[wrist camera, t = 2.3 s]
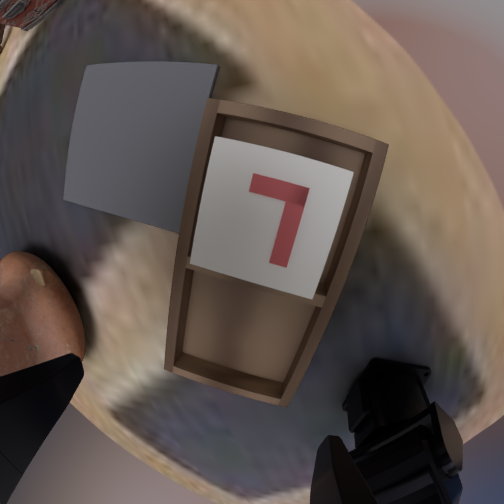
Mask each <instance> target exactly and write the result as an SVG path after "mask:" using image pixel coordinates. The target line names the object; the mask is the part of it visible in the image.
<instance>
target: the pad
mask: <svg viewBox="0 0 504 504" xmlns="http://www.w3.org/2000/svg"><path fill="white" fill-rule="evenodd" d="M218 69H219V66H218V65H214V64H203V63H188V62H120V63H106V64H95V65H87V67H86V70H85V73H84V77H83V81H82V84H81V88H80V92H79V97H78V101H77V105H76V110H75V115H74V120H73V125H72V131H71V137H70V143H69V150H68V158H67V166H66V176H65V188H64V200H66V201H70V202H73V203H76V204H80V205H83V206H87V207H90V208H94V209H97V210H100V211H104V212H107V213H111V214H114V215H118V216H121V217H125V218H128V219H131V220H135V221H138V222H142V223H145V224H149V225H152V226H156V227H159V228H162V229H166V230H169V231H173V232H176V233H179V232H180V225H181V219H182V214H183V208H184V202H185V197H186V191H187V186H188V181H189V176H190V171H191V166H192V161H193V157H194V152H195V147H196V143H197V139H198V134H199V130H200V126H201V122H202V117H203V113H204V109H205V105H206V102H207V98H211V95H212V91H213V87H214V84H215V80H216V76H217V73H218Z"/></svg>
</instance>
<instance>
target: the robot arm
mask: <svg viewBox="0 0 504 504" xmlns="http://www.w3.org/2000/svg"><path fill="white" fill-rule="evenodd" d="M374 364H377V365H374ZM426 372H427V373H426ZM430 375H431V370H430V368H428V367H422V366H416V365H410V364H404V363H399V362H393V361H388V360H383V359H378V358H375V359H373V360H371V361H370V363H369V364H368V366H367V368H366V369H365V371H364V373H363V374H362V376H361V378H359V379H358V380H357V381H356V383H355V384H354V386H353V388H352V389H351V391H350V392H349V394H348V395H347V397H346V401H345V402H344V404H343V405H342V407H343V411H346V412H347V413H348V424H349V431H350V432H351V433H354V438H355V449H354V450H352V451H350V452H348V450H347V448H346V447H345V445H344V443H343V441H342V439H341V438H340V437H339V436H333V435H328V436H327V437H326V438H325V439H324V441H323V442H322V443H321V445H320V446H319V448H318V450H317V456H316V462H315V468H314V473H313V479H312V484H311V492H310V504H459V501H460V497H461V494H462V489H463V487H462V483H461V480H460V477H459V474H458V473H459V472H460V471H461V470H462V464H463V441H462V438H461V436H460V434H459V431H458V429H457V427H456V425H455V423H454V421H453V420H452V419H451V418H450V417H449V416H448V415H447V413H446V412H445V411H444V410H443V409H442V408H441V407H440V406H439V405H438V404H437V403H436V402H435V401H434V402H433V403H432V404H430V402H429V400H428V397H427V395H426V392H425V390H424V387H423V385H424V383H425V382H426V380H427V379H428V378H429V376H430ZM83 376H84V369H83V365H82V361H81V358H80V357H79V356H77V355H75V354H73V353H68V354H66V355H63V356H60V357H57V358H54V359H51V360H48V361H45V362H42V363H40V364H37V365H34V366H31V367H28V368H25V369H22V370H19V371H15V372H12V373H9V374H6V375H3V376H0V504H7V502H8V500H9V498H10V497H11V494H12V493H13V491H14V489H15V488H16V486H17V484H18V482H19V481H20V479H21V477H22V476H23V474H24V472H25V470H26V469H27V467H28V466H29V464H30V462H31V461H32V459H33V457H34V456H35V454H36V453H37V451H38V450H39V448H40V446H41V445H42V443H43V442H44V440H45V439H46V437H47V436H48V434H49V433H50V431H51V430H52V428H53V427H54V425H55V424H56V422H57V421H58V419H59V418H60V416H61V415H62V413H63V412H64V410H65V409H66V407H67V406H68V404H69V402H70V401H71V399H72V397H73V395H74V393H75V391H76V389H77V387H78V386H79V384H80V382H81V380H82V378H83Z"/></svg>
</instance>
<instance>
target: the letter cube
mask: <svg viewBox="0 0 504 504" xmlns="http://www.w3.org/2000/svg"><path fill="white" fill-rule="evenodd" d="M353 173H354V172H352V171H349V170H346V169H343V168H340V167H336V166H333V165H330V164H327V163H323V162H320V161H317V160H313V159H310V158H306V157H303V156H299V155H295V154H292V153H288V152H284V151H280V150H276V149H272V148H268V147H264V146H259V145H255V144H251V143H246V142H242V141H237V140H232V139H227V138H222V137H217V136H215V138H214V143H213V147H212V151H211V156H210V160H209V165H208V169H207V174H206V179H205V183H204V188H203V193H202V198H201V203H200V208H199V214H198V219H197V224H196V230H195V235H194V241H193V247H192V252H191V258H190V264H193V265H196V266H199V267H202V268H206V269H209V270H212V271H215V272H219V273H222V274H225V275H229V276H232V277H235V278H239V279H242V280H246V281H249V282H252V283H256V284H259V285H263V286H266V287H269V288H273V289H276V290H280V291H283V292H287V293H291V294H294V295H298V296H301V297H305V298H308V299H313V296H314V294H315V291H316V288H317V286H318V283H319V280H320V277H321V275H322V272H323V269H324V266H325V263H326V260H327V257H328V254H329V251H330V248H331V245H332V242H333V239H334V236H335V233H336V230H337V227H338V224H339V221H340V218H341V214H342V211H343V208H344V204H345V201H346V198H347V194H348V191H349V188H350V184H351V180H352V177H353Z"/></svg>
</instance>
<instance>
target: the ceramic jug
mask: <svg viewBox="0 0 504 504" xmlns="http://www.w3.org/2000/svg"><path fill="white" fill-rule="evenodd" d="M85 346H86V345H85V334H84V327H83V323H82V320H81V317H80V314H79V312H78V309H77V307H76V304H75V302H74V300H73V298H72V297H71V295H70V293H69V291H68V290H67V288H66V286H65V285H64V283H63V282H62V280H61V279H60V278H59V277H58V275H57V274H56V273H55V272H54V270H53V269H52V268H51V267H50V266H49V265H48V264H47V263H45V262H44V261H43V260H42V259H40V258H39V257H37V256H35V255H33V254H31V253H28V252H21V251H16V252H12V253H9V254H7V255H6V256H5V257H4V258H3V259H2V260H1V261H0V376H3V375H6V374H9V373H12V372H15V371H19V370H22V369H25V368H28V367H31V366H34V365H37V364H40V363H42V362H45V361H48V360H51V359H54V358H57V357H60V356H63V355H66V354H68V353H73V354H75V355H77V356H79V357H80V358H81V361H83V358H84V355H85Z"/></svg>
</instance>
